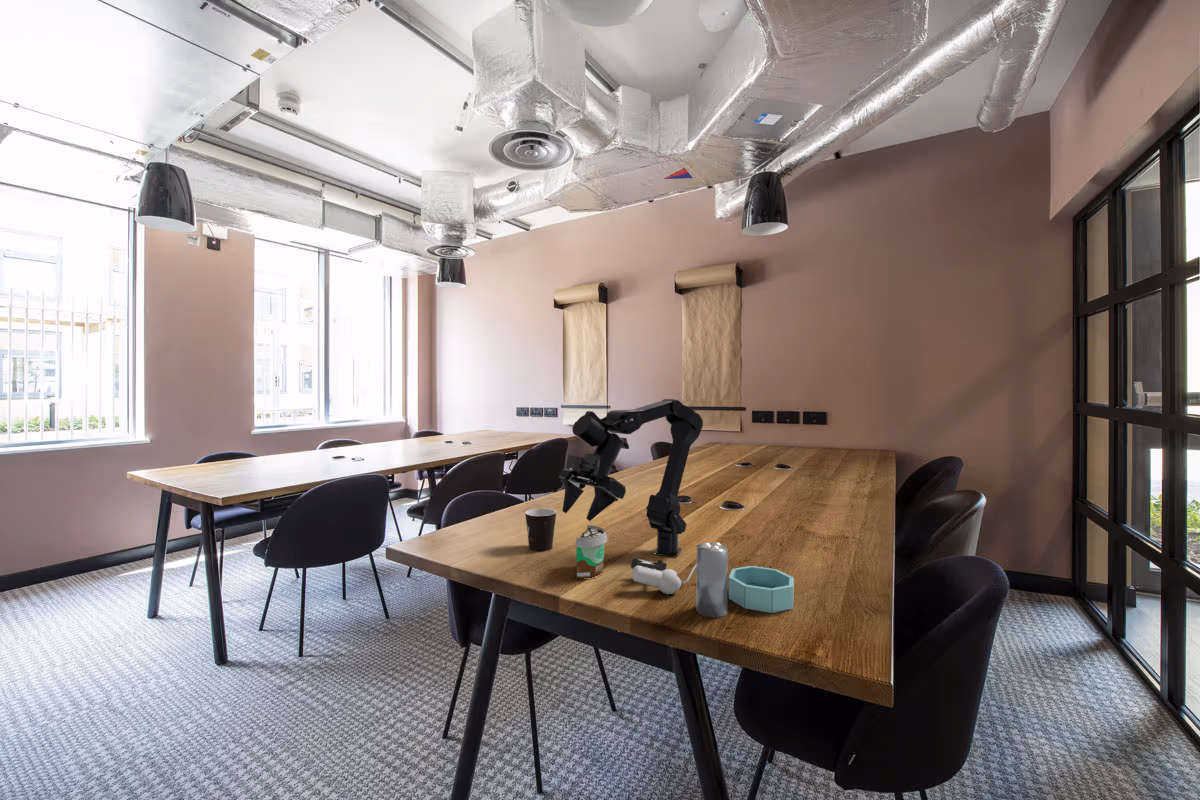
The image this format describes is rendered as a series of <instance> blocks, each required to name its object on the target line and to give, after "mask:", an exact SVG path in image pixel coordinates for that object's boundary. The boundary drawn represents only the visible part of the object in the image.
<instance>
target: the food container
mask: <svg viewBox="0 0 1200 800" xmlns="http://www.w3.org/2000/svg"><path fill="white" fill-rule="evenodd" d="M586 525H587V526H586V530H585V531H583V532H582V533H581V535H580V537H576V539H575V548H576V553H575V555H576V580H577V579H584V578H592V577H595V576H598V575H600V574H601V573H602V574H603V570H604V569H603V568H604V567H603V566H604V557H605V555H604V554H605V543H607V542H608V536H607V532H606V530H605V529H604V527H601V526H597V525H592V524H591V525H590V524H586ZM600 576H601V575H600Z"/></svg>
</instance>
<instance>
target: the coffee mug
mask: <svg viewBox="0 0 1200 800" xmlns="http://www.w3.org/2000/svg"><path fill="white" fill-rule="evenodd" d="M524 515H525V523H526V531H527V541H528V550H530V551H532V552H538V553H539V552H547V551H551V550H552V549H553V543H554V536H555V535H554V534H555V526H556V520H557V519H556V518H557V511H556V509H552V508H533V509H529V510H527V511H525V513H524Z"/></svg>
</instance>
